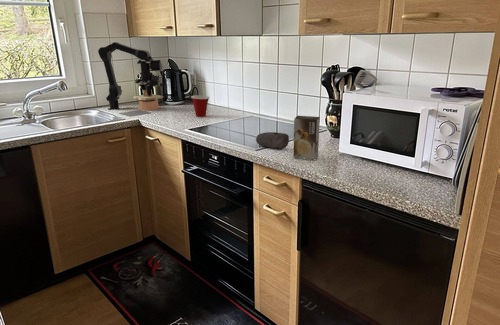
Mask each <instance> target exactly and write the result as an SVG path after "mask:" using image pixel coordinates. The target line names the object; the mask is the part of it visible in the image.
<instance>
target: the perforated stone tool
mask: <svg viewBox="0 0 500 325" xmlns="http://www.w3.org/2000/svg"><path fill="white" fill-rule="evenodd" d="M289 137H290V135H288V133H283V132H276V131H273V132H271V131H270V132H269V131H268V132H267V131H266V132H262V133H259V134H257V135H256V138H255V141H256V143H257V145H258V146H261V147H266V148H267V147H268V149H273V148H275V149H279V150H283V149H285V148H287V146H288V145H289V143H290V142H289V141H290V138H289Z"/></svg>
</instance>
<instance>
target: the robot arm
mask: <svg viewBox="0 0 500 325" xmlns="http://www.w3.org/2000/svg"><path fill="white" fill-rule="evenodd" d="M118 50H119V51H120V52H121V51H122V52H124V53H127V54H130V55H132V56H134V57H136V58H138V61H137V62H136V63H137V64H138V65H139V64H140V72H139V75H141V78H136V79H135V80H134V82H135V83H134V84H137V85H138V86H139V87H140V89H141V90H142V91H143V90H147V92H148V95H149V96H150V95H151V91H152V92H153V88H154V87H155V86H157V85H158V86H159V85H160V84H159V79H160V77H159V76H157V75H155V74H153V72H162V70H163V64H162V62H161V59H158V60H156V59H154V58H152V56H151V54H150V51H148V50H145V49H138V48H134V47H132V46H129V45H126V44H122V43H120V42H117V41H115V42H112V43H109V44H108V45H106V46H102V47H99V49H98V50H97V52H98V55H99V58H100V59H101V61H102V62H103V66H104V70H105V73H106V78H107V82H108V84H109V87H108V95H107V96H106V97H105V98H106V101H107V102H108V104H109V105H108V106H109V107H108V108H107V110H109V111H113V110H120V109H121V107H119V99H120V97H121V96H122V95H123V94H122V92H123V90H122V86H121V85H119V84H118V83H117V80H116V75H115V72H114V68H113V63H112V53H113V52H115V51H118Z"/></svg>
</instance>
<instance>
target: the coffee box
mask: <svg viewBox="0 0 500 325" xmlns="http://www.w3.org/2000/svg"><path fill="white" fill-rule="evenodd" d="M320 118H321V117H320V116H314V115H313V116H312V115H311V116H309V115H297V116H295V118H294V120H293V153H292V154H293V156H292V158H293V157H296V158H295V159H297V158H305V159H304V160H307V159H316V158H317V159H318V158H319V146H320V145H319V144H320V120H321V119H320ZM317 159H316V160H317Z"/></svg>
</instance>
